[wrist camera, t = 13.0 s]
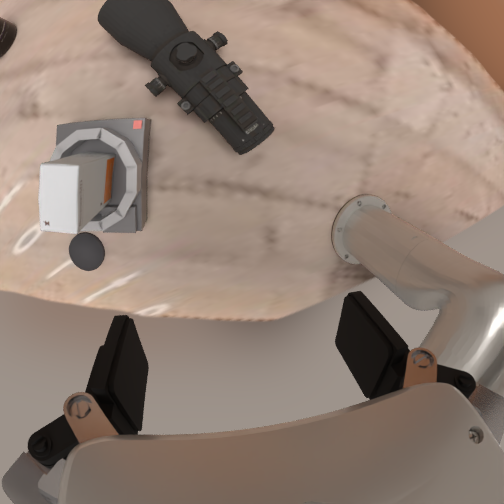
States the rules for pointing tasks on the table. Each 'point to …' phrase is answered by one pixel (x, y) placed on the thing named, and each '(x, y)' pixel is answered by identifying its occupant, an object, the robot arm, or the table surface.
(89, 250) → the lens cap
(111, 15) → the rifle scope
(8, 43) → the supplement bottle
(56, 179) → the skincare box
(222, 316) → the table surface
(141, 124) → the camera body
